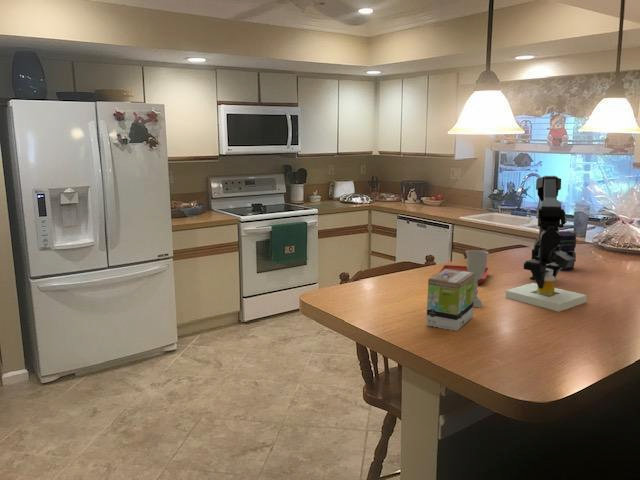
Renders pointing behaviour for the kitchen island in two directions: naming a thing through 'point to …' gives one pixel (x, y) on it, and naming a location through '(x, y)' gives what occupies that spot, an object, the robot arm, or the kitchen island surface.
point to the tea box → (450, 299)
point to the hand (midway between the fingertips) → (545, 287)
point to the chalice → (476, 269)
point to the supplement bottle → (547, 284)
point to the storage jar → (567, 245)
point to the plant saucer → (464, 268)
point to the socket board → (556, 302)
